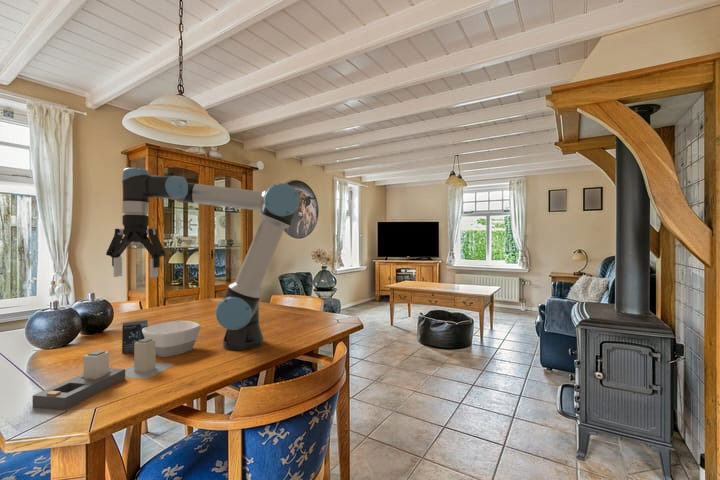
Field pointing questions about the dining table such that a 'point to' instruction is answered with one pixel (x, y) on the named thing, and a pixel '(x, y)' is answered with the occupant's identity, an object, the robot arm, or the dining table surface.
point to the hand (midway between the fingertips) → (135, 277)
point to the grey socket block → (75, 390)
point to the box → (132, 334)
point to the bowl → (172, 337)
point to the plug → (96, 365)
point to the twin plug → (144, 355)
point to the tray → (158, 368)
